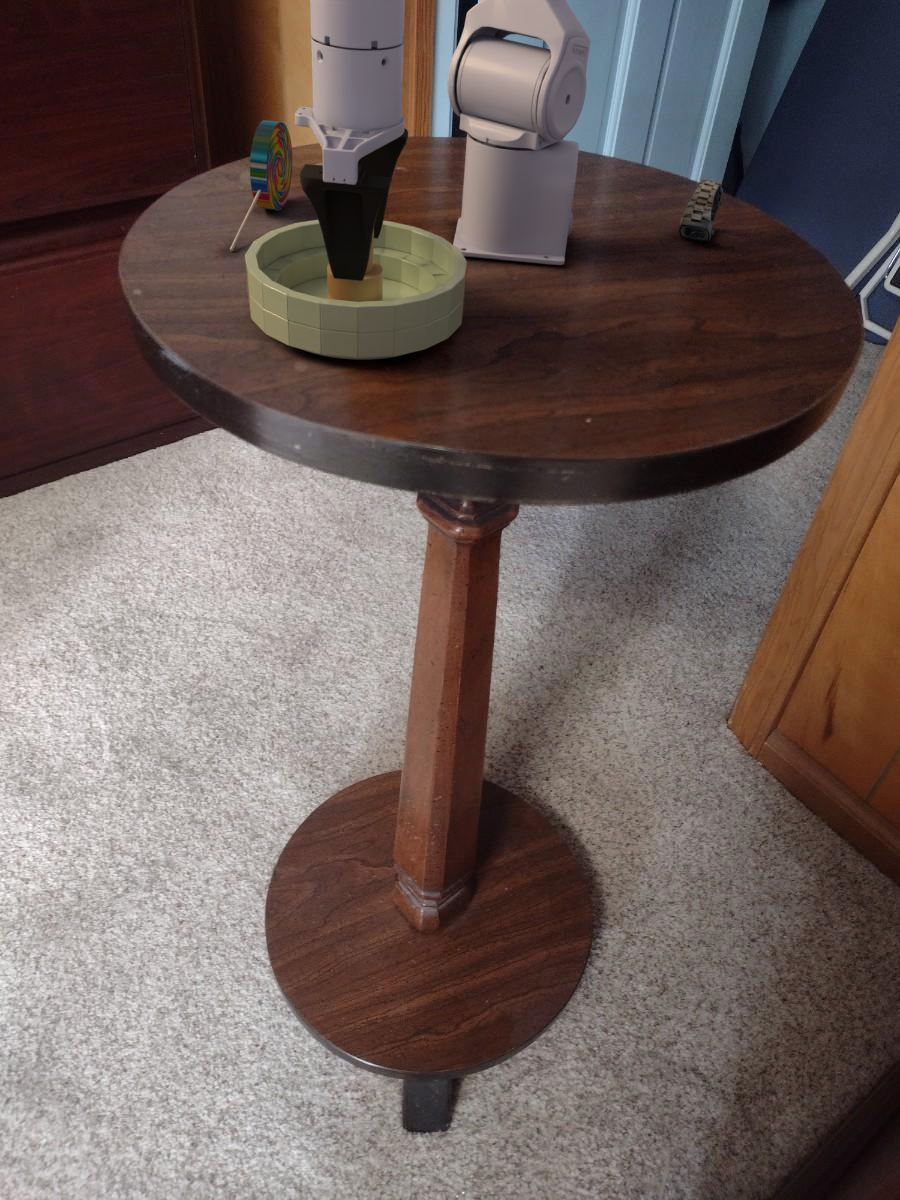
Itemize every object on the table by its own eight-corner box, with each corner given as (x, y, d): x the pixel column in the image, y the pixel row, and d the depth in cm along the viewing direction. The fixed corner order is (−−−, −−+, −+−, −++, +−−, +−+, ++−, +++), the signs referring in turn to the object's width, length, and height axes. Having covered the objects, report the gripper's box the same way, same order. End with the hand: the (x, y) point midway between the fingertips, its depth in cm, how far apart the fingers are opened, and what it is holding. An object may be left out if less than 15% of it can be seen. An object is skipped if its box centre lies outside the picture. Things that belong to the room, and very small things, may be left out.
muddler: (385, 299, 73) (388, 189, 67) (378, 322, 70) (380, 209, 64) (332, 293, 73) (331, 184, 68) (323, 317, 70) (320, 203, 65)
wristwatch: (677, 247, 90) (678, 219, 85) (702, 199, 90) (705, 168, 86) (708, 259, 89) (710, 231, 85) (733, 211, 90) (737, 180, 85)
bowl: (468, 284, 78) (473, 228, 75) (453, 378, 66) (458, 316, 63) (275, 266, 78) (272, 209, 75) (226, 356, 66) (220, 293, 63)
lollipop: (230, 284, 82) (281, 176, 90) (246, 286, 82) (296, 178, 90) (213, 211, 76) (269, 103, 84) (231, 213, 76) (285, 105, 84)
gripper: (315, 10, 65) (319, 214, 74) (267, 61, 54) (279, 292, 63) (418, 19, 65) (411, 222, 74) (392, 72, 54) (386, 303, 63)
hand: (357, 255), depth 69 cm, fingers open, 7 cm apart
